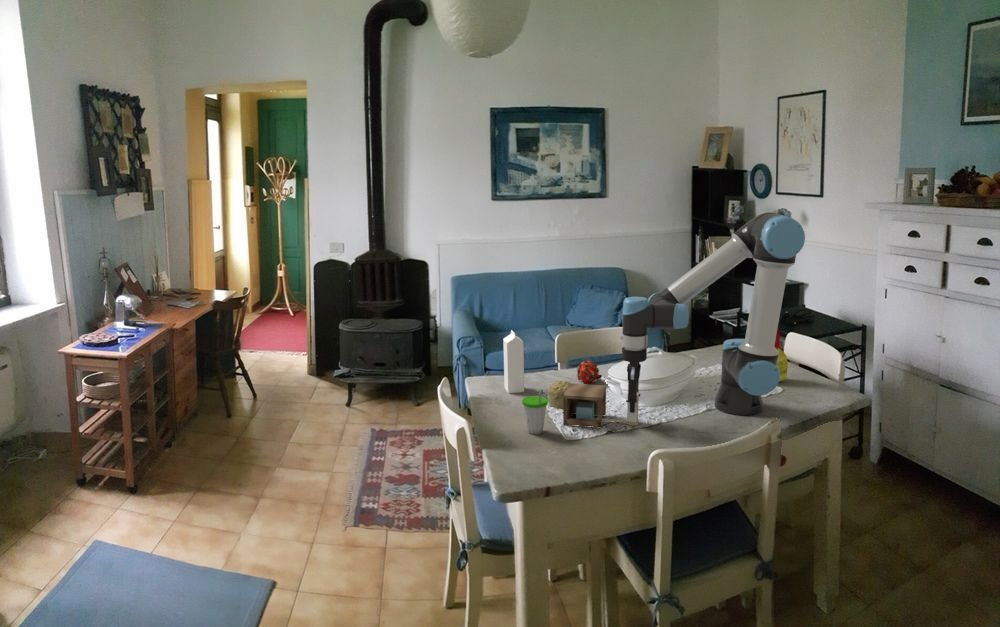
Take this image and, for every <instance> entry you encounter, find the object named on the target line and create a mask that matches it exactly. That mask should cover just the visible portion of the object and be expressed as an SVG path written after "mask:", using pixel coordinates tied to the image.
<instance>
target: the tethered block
mask: <svg viewBox="0 0 1000 627" xmlns="http://www.w3.org/2000/svg"><path fill="white" fill-rule="evenodd" d="M639 394H640V392H637V422H630V421H628V402H626V403H627V409H626V413H627V414H626V415H627V416H626V420H623V419H612V418H611V419H610V418H609V419H608V418H602V422H604V421H614V422H613V423H616V422H624V423H623V424H626V425H627V424H629V425H628V426H634V425H637V426H638V424H639V405H640V404H639V403H640V402H639V399H640V397H639ZM575 415H576V416H575V419H587V420H598V417H597V418H596V417H595V415H594V403H590V402H578V404H577V407H576V414H575Z"/></svg>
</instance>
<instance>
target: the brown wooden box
mask: <svg viewBox="0 0 1000 627" xmlns="http://www.w3.org/2000/svg"><path fill="white" fill-rule="evenodd" d="M578 402H590V403H594V416H597V418H598V420H587V419H576V418H572V416H573V414H572V413H576V407H577V404H578ZM606 409H607V385H600V384H589V385H588V384H584V383H583V384H582V383H571V382H570V383H569V385H568V387H567V389H566V391H565V393H564V395H563V408H562V410H563V413H562V414H563V415H562V416H563V418H562V420H563V422H562V423H563V424H562V425H563V426H568V425H579V426H578V427H581V426H593V427H602V428H603V421H602V419H603V416H602V415H607V410H606ZM571 415H572V416H571ZM570 417H571V418H570ZM593 427H592V428H593Z"/></svg>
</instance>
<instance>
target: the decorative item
mask: <svg viewBox="0 0 1000 627" xmlns="http://www.w3.org/2000/svg"><path fill="white" fill-rule="evenodd" d="M569 383H571V382H569V381H566V380H565V381H564V380H558V381H554V382H552V383H551V384H550V385H549V387H548V390H547V400H548V404H547V405H549V406H550V407H553V408H554V409H555V408H556V409H563V395H564V393H565V391H566V389H567V387H568V385H569Z"/></svg>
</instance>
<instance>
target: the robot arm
mask: <svg viewBox="0 0 1000 627" xmlns="http://www.w3.org/2000/svg"><path fill="white" fill-rule="evenodd" d="M805 242H806V235H805V231H804V228H803V227H802V225H801V224H800V223H799V221H797V220H795V219H794V218H793V217H790V216H789V215H784V214H779V213H776V212H764V213H760V214H758V215H756V216H755V217H753V218H752V219H750V220H749V221H747V222H745V224H744V225H742V226H741V227H739V228H738V229H737V230H736V231H734V232H733V233H732V235H731V239H729V240H728V241H727V242H725V243H724V244H723V245H721V246H720V247H718V248H717V249H716V250H715V251H714V252H712V253H710V255H708V256H707V257H706V258H704V259H703V260H701V261H700V262H699V263H698V264H696V265H695V266H693V267H692V268H691V269H690V270H688V271H687V272H686V273H685V274H683V275H682V276H680V277H679V278H678V279H677V280H675V281H674V282H672V283H671V284H670V285H669V286H667V287H666V288H664V289H663V290H662V291H661V292H655V293H652V294H651V295H650V296H649V297H648V298H647V297H644V296H629V297H626V298H625V299H624V300H623V304H622V305H623V306H622V335H621V336H620V338H619V339H620V340H622V343H621V344H622V348H621V359H622V360H623V361H624V362H628V364H627V366H626V372H627V399H625V402H626V403H627V402H628V421H630V422H637V392H639V391H640V389H639V387H640V386H639V385H640V384H639V381H640V376H641V368H642V364H640V363H643V362H645V361H646V360H647V356H648V355H647V354H648V349H647V348H648V329H649V330H653V329H654V330H655V329H656V330H658V329H659V330H664V329H665V330H667V329H669V330H670V329H671V330H678V329H686V328H687V327H688V325H689V320H690V316H689V314H690V313H689V307H688V305H686V303H688V302H689V301H690V300H692V299H693V298H695V297H696V296H697V295H699V294H700V293H701V292H702V291H704V290H706V289H707V287H709V286H711V285H712V284H714V283H715V282H716V281H718V279H720V278H721V277H723V276H724V275H725V274H727V273H728V272H729V271H731V270H732V269H733V268H735V267H736V266H738V265H739V264H740V263H742V262H743V261H744V260H746V259H747V258H748V259H752V260H753V261H754V262H755V263H756V265H757V266H756V272H755V278H754V284H753V288H752V290H753V291H752V295H751V301H750V307H749V311H748V312H749V313H748V319H747V325H746V331H745V338H732V339H731V338H730V339H726V340H725V341H723V345H722V350H721V351H722V356H721V357H722V358H721V378H720V379H721V380H720V384H719V388H718V390H717V392H716V394H715V397H714V407H715V408H716V409H717V410H718V411H721V412H723V413H727V414H731V415H737V416H752V415H757V414H760V413H761V412H763V406H764V402H763V399H762V396H765V395H768V394H770V392H773V391H774V390H775V389H776V388H777V386H778V385H779V383H780V381H779V380H780V373H779V370H778V368H777V367H776V365H777V359H778V353H779V352H778V351H777V349H776V348H775V346H774V345H775V339H776V334H777V330H778V327H779V322H780V315H781V311H782V304H783V299H784V294H785V288H786V283H787V278H788V270H789V269H790V268H791V267H792V266H793V265H795V263H796V260H797V259H796V258H797V255H798V254H799V253H800V252H801V251H802V249H803V247H804V245H805ZM640 397H641V393H640V392H639V398H640Z"/></svg>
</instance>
